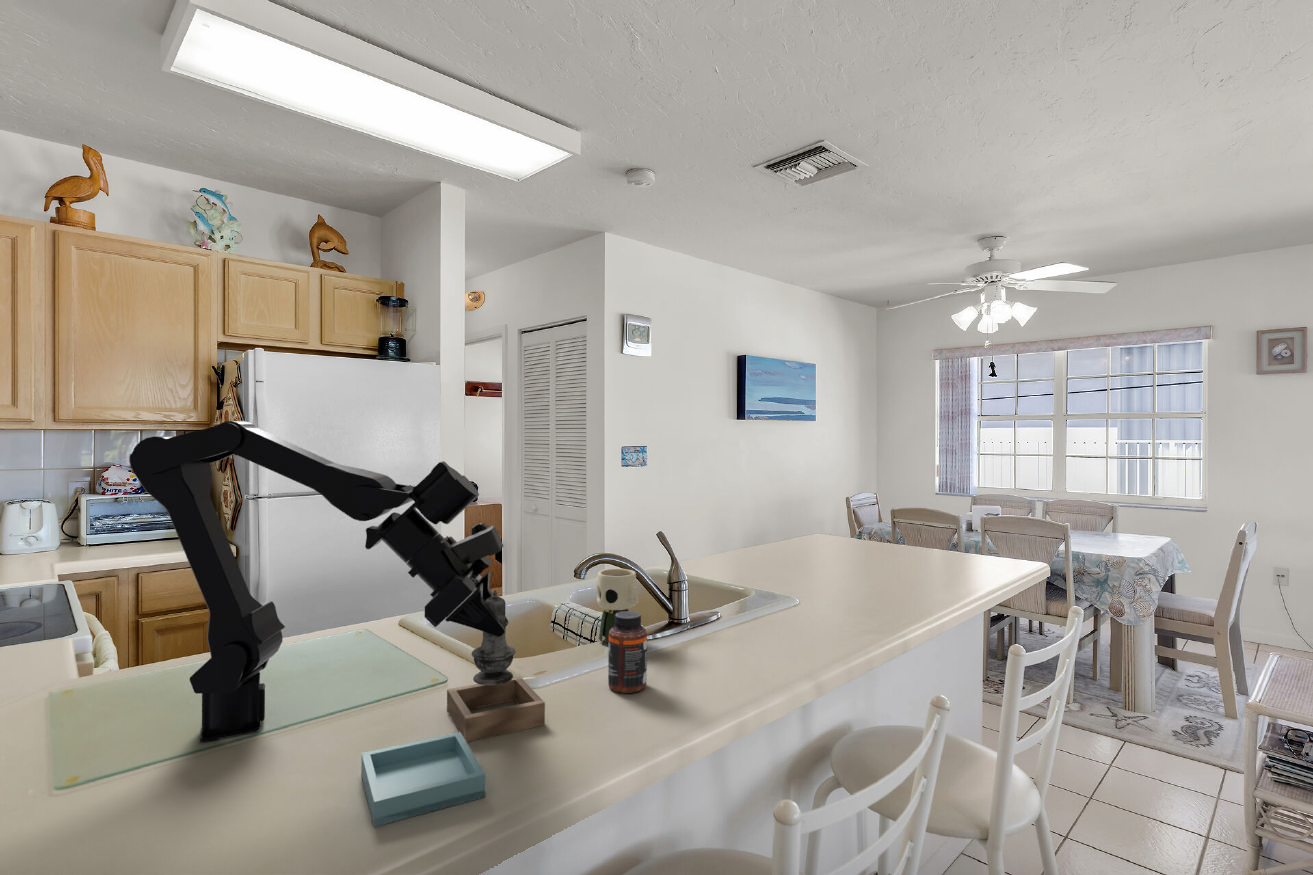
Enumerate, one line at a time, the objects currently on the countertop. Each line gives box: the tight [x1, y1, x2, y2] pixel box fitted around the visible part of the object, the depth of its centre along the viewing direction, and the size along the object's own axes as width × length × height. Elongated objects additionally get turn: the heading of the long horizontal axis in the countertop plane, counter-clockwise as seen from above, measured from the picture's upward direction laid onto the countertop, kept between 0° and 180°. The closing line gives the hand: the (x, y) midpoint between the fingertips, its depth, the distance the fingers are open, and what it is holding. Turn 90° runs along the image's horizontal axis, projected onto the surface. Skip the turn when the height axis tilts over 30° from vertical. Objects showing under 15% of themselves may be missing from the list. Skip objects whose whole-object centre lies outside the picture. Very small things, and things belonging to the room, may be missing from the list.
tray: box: [360, 731, 486, 828], centre depth 73 cm, size 11×11×2 cm
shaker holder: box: [446, 676, 546, 743], centre depth 90 cm, size 10×10×3 cm
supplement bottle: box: [607, 610, 648, 694], centre depth 102 cm, size 6×6×11 cm
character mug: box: [596, 568, 639, 644], centre depth 123 cm, size 11×7×13 cm, turn 46°
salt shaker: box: [471, 589, 517, 685], centre depth 90 cm, size 6×6×12 cm
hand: (504, 629), depth 90 cm, fingers closed on salt shaker, 4 cm apart
